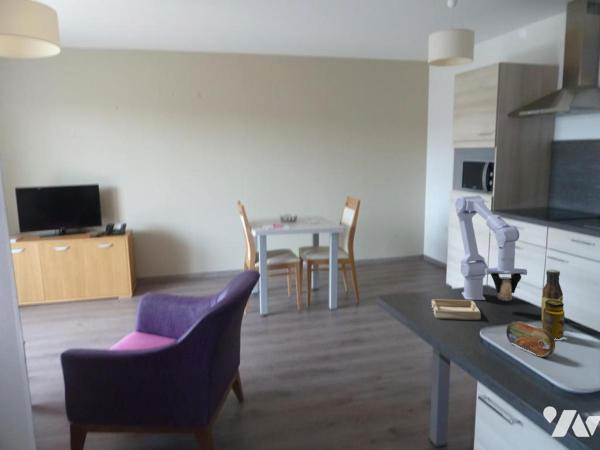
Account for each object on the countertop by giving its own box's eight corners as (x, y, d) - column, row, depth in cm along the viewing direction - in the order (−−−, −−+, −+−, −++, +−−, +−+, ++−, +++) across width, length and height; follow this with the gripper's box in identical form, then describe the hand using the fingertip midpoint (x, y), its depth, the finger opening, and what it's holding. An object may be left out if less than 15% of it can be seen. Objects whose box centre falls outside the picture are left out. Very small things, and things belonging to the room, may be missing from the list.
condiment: (569, 339, 138) (571, 304, 136) (545, 342, 137) (547, 306, 135) (553, 331, 145) (555, 297, 143) (530, 333, 144) (532, 299, 142)
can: (496, 296, 167) (497, 276, 166) (509, 296, 166) (510, 277, 165) (499, 300, 162) (500, 280, 161) (513, 300, 161) (514, 280, 160)
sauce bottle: (564, 329, 146) (567, 273, 143) (544, 328, 147) (547, 273, 145) (557, 322, 153) (560, 268, 150) (538, 321, 154) (540, 268, 151)
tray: (431, 306, 174) (431, 299, 173) (472, 307, 171) (472, 300, 170) (435, 318, 160) (435, 311, 160) (480, 320, 157) (480, 312, 157)
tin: (505, 343, 137) (506, 318, 136) (512, 341, 139) (513, 316, 137) (549, 362, 124) (550, 334, 123) (556, 359, 125) (557, 332, 124)
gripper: (488, 260, 159) (487, 295, 161) (530, 260, 156) (528, 296, 159) (484, 256, 166) (483, 289, 168) (524, 256, 163) (522, 290, 165)
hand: (505, 292), depth 164 cm, fingers closed on can, 5 cm apart
